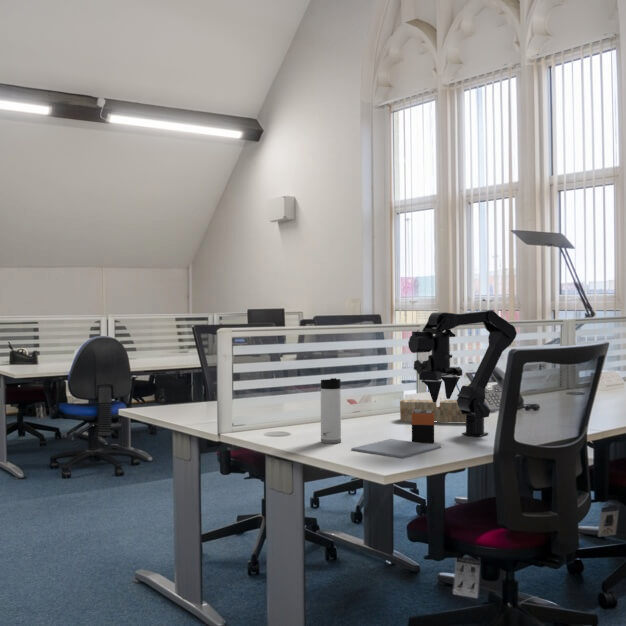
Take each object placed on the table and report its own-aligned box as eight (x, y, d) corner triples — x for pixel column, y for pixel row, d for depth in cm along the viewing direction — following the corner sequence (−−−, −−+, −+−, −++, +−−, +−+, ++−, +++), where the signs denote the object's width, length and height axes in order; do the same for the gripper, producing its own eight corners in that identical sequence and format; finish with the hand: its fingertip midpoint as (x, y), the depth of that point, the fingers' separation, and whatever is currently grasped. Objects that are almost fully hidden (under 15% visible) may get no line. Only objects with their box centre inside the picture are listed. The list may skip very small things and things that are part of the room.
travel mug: (324, 444, 223) (324, 378, 223) (318, 440, 229) (318, 376, 229) (344, 443, 225) (343, 378, 224) (337, 439, 231) (337, 376, 231)
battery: (412, 440, 229) (412, 408, 229) (434, 441, 228) (434, 409, 228) (411, 443, 224) (411, 410, 224) (434, 443, 223) (434, 411, 223)
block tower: (399, 425, 267) (481, 424, 262) (399, 401, 267) (480, 400, 262) (401, 421, 275) (481, 421, 269) (400, 399, 275) (480, 398, 269)
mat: (390, 440, 229) (390, 438, 229) (440, 447, 217) (440, 445, 217) (351, 450, 213) (351, 448, 213) (403, 458, 202) (403, 455, 202)
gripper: (432, 349, 246) (433, 395, 246) (403, 352, 231) (404, 402, 231) (462, 350, 239) (463, 397, 239) (435, 353, 224) (436, 404, 224)
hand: (441, 400), depth 234 cm, fingers open, 9 cm apart
